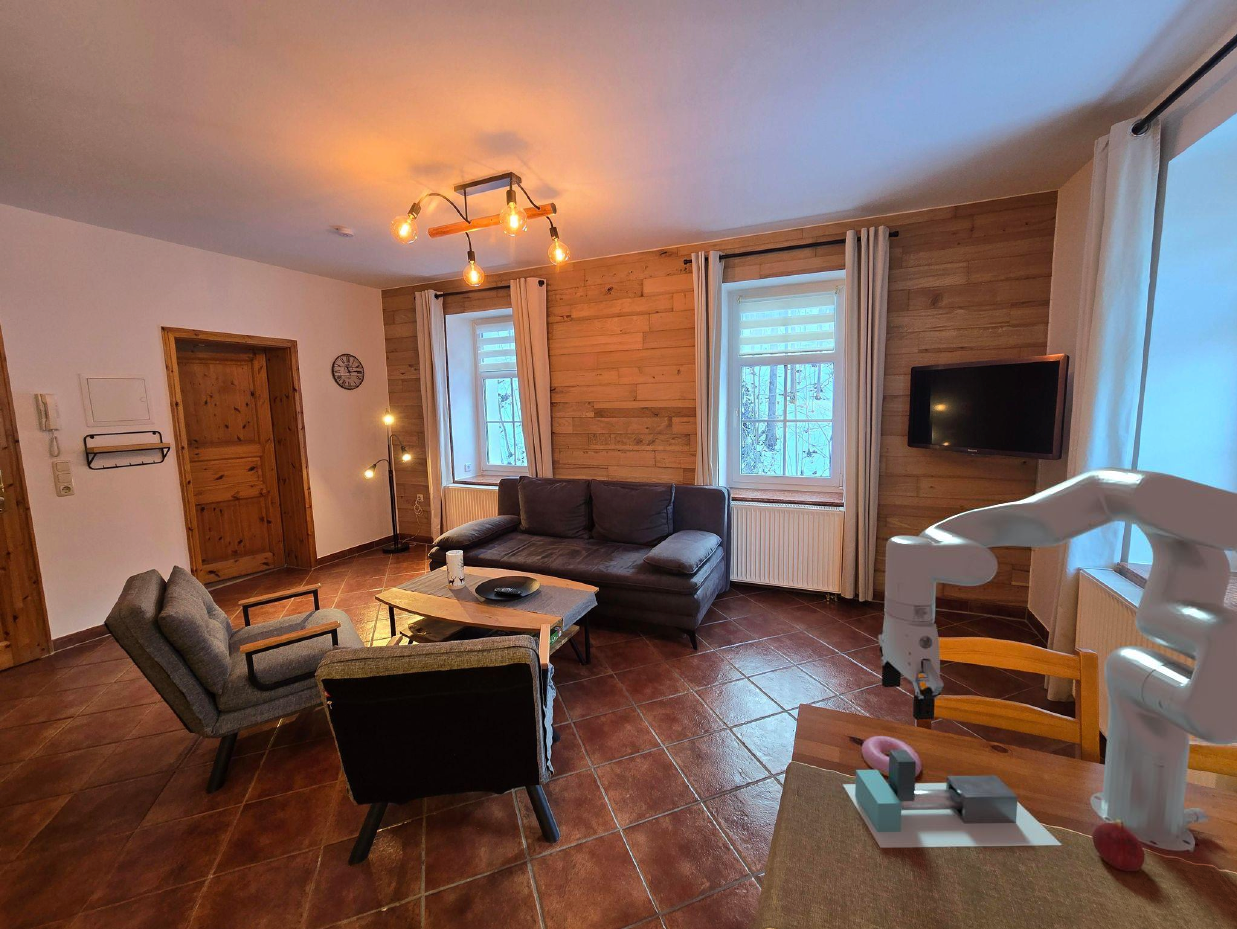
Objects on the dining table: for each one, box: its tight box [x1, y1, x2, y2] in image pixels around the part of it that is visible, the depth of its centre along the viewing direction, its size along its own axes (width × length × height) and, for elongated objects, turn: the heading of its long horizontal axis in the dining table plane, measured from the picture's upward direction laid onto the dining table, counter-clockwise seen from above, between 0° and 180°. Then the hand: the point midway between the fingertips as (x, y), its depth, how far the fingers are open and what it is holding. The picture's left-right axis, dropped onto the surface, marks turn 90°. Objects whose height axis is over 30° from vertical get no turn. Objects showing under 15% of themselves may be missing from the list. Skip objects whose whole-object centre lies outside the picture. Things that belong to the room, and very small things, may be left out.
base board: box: [842, 782, 1063, 849], centre depth 88 cm, size 30×14×1 cm, turn 90°
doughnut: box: [861, 734, 922, 778], centre depth 101 cm, size 11×11×4 cm
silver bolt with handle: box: [887, 750, 963, 810], centre depth 88 cm, size 19×3×10 cm, turn 90°
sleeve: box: [945, 775, 1019, 824], centre depth 88 cm, size 9×5×5 cm, turn 90°
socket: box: [855, 769, 902, 832], centre depth 88 cm, size 4×8×5 cm, turn 0°
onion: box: [1091, 819, 1146, 872], centre depth 78 cm, size 6×6×8 cm
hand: (906, 701), depth 86 cm, fingers open, 9 cm apart
